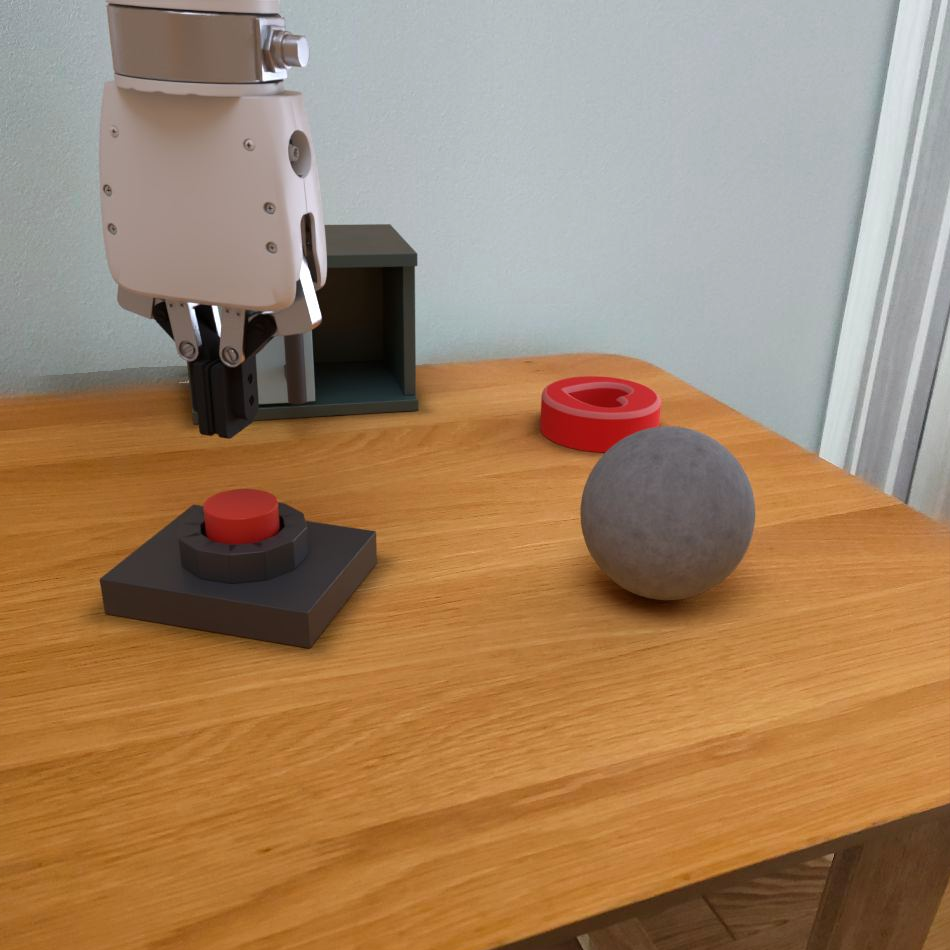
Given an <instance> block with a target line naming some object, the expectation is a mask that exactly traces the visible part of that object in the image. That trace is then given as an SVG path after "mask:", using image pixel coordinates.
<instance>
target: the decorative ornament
mask: <svg viewBox="0 0 950 950" xmlns="http://www.w3.org/2000/svg"><path fill="white" fill-rule="evenodd" d="M540 399H541V400H540V401H541V402H540V419H539V420H540V421H539V431H540V432H541V435H543V436H544V437H545V438H547V439H548V440H549V441H551V442H554V443H556V444H557V445H560V446H563V447H566V448H570V449H574V450H578V451H586V452H594V453H605V452H606V451H608V450H609V449H610V448H611V447H612V446H613V445H615V444H616V443H617V442H619V441H620V440H622V439H623V438H625V437H627V436H629V435H631V434H633V433H636V432H638V431H641V430H644V429H648V428H653V427H660V417H661V409H662V400H661V398H660V396H659V394H658V393H657V392H656V391H655V390H654V389H652V388H651V387H649V386H647V385H645V384H641V383H639V382H636V381H633V380H630V379H624V378H618V377H611V376H601V375H599V376H598V375H597V376H596V375H594V376H593V375H583V376H573V377H567V378H562V379H559V380H555V381H554V382H551V383H549V384H548V385H546V386H545V387H544V389H542V392H541V397H540Z"/></svg>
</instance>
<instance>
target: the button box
mask: <svg viewBox="0 0 950 950" xmlns="http://www.w3.org/2000/svg"><path fill="white" fill-rule="evenodd" d="M278 511H279V525H280V530H279V533H278V534H277V535H276V536H273V537H270V538H268V539H265V540H262V541H259V542H256V543H246V544H235V545H233V544H226V543H219V542H213V541H212V540H210V539H208V537H207V535H206V528H205V518H204V509H203V505H200V504H192V505H191V506H189V507H188V508H187V509H186V510H185V511H183V512H182V513H181V514H179V515H178V516H176V518H174V519H173V520H172V521H171V522H169V523H168V524H167V525H165V526H164V527H163V528H161V529H160V530H159V531H158V532H157V533H156V534H153V536H152V537H150V538H149V539H148V540H146V541H145V542H144V543H143V544H141V545H140V546H139V547H138V548H136V549H135V550H134V551H133V552H132V553H130V554H129V555H128V556H126V557H125V558H124V559H123V560H122V561H120V562H119V563H118V564H116V565H115V566H113V568H111V569H110V570H109V571H108V572H106V573H105V574H104V575H102V576H101V577H100V578H99V584H100V585H99V586H100V591H101V598H102V604H103V609H104V610H103V611H104V614H105V615H109V616H117V617H123V618H127V619H128V618H130V619H135V620H141V621H146V622H152V623H158V624H163V625H164V624H165V625H171V626H174V627H175V626H176V627H181V628H188V629H195V630H198V631H199V630H200V631H206V632H211V633H218V634H223V635H229V636H235V637H239V638H240V637H241V638H246V639H247V638H248V639H254V640H259V641H264V642H265V641H266V642H271V643H276V644H283V645H289V646H294V647H300V648H307V649H311V648H312V646H313V645H314V644H315V642H316V641H318V639H319V637H320V636H321V635H322V633H323V632H324V631H325V630H326V629H327V627H328V626H329V624H330V623H331V622H332V621H333V619H335V617H336V615H337V614H339V612H340V611H341V609H342V608H343V607H344V606H345V604H347V602H348V601H349V599H350V598H351V597H352V595H353V594H354V593H355V591H357V589H358V588H359V587H360V586H361V584H362V583H363V581H364V580H365V579H366V578H367V576H368V575H369V574H370V573H371V571H372V570H373V568H375V566H376V565H377V564H378V552H377V551H378V549H377V548H378V547H377V531H376V530H370V529H363V528H357V527H351V526H343V525H336V524H329V523H322V522H316V521H309V520H306V518H305V514H304V513H303V512H302V511H300V510H298V509H296V508H294V507H293V506H291V505H288V504H287V503H284V502H279V501H278Z"/></svg>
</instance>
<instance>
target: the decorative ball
mask: <svg viewBox="0 0 950 950" xmlns="http://www.w3.org/2000/svg"><path fill="white" fill-rule="evenodd" d="M580 500H581V501H580V507H579V508H580V510H579V511H580V512H579V514H580V527H581V532H582V536H583V539H584V542H585V545H586V549H587V550H588V552H589V554H590V556H591V557H592V559H593V560H594V562H595V563H596V565H597V566H598V567H599V569H600V570H601V571H602V572H603V574H605V575H606V576H607V578H609V579H610V580H611V581H612V582H613V583H614V584H616V585H618V586H619V587H621V588H622V589H624V590H626V591H628V592H630V593H632V594H635V595H637V596H640V597H643V598H646V599H650V600H657V601H678V600H683V599H689V598H692V597H696V596H699V595H701V594H703V593H706V592H707V591H709V590H711V589H714V588H715V587H717V586H718V585H719V584H721V583H722V582H724V580H726V579H727V578H728V577H729V576H730V575H731V574H732V573H733V572H734V571H735V570H736V568H737V567H738V566H739V565H740V564H741V562H742V561H743V558H744V557H745V555H746V554H747V551H748V549H749V547H750V544H751V541H752V539H753V535H754V529H755V524H756V502H755V501H756V500H755V495H754V490H753V488H752V484H751V481H750V480H749V477H748V475H747V473H746V471H745V470H744V467H743V466H742V465H741V463H740V462H739V460H738V459H737V458H736V457H735V455H734V454H733V453H731V451H730V450H729V449H728V448H727V447H726V446H724V445H722V443H720V442H719V441H717V440H715V439H714V438H713V437H711V436H709V435H707V434H705V433H703V432H700V431H697V430H695V429H692V428H687V427H683V426H673V425H662V426H659V427H653V428H648V429H644V430H641V431H638V432H636V433H633V434H631V435H629V436H627V437H625V438H623V439H622V440H620V441H619V442H617V443H616V444H615V445H613V446H612V447H611V448H610V449H609V450H608V451H606V452H603V454H602V455H601V457H599V459H598V461H597V462H596V463H595V465H593V468H592V470H590V473H589V474H588V477H587V479H586V481H585V484H584V487H583V490H582V494H581V499H580Z"/></svg>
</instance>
